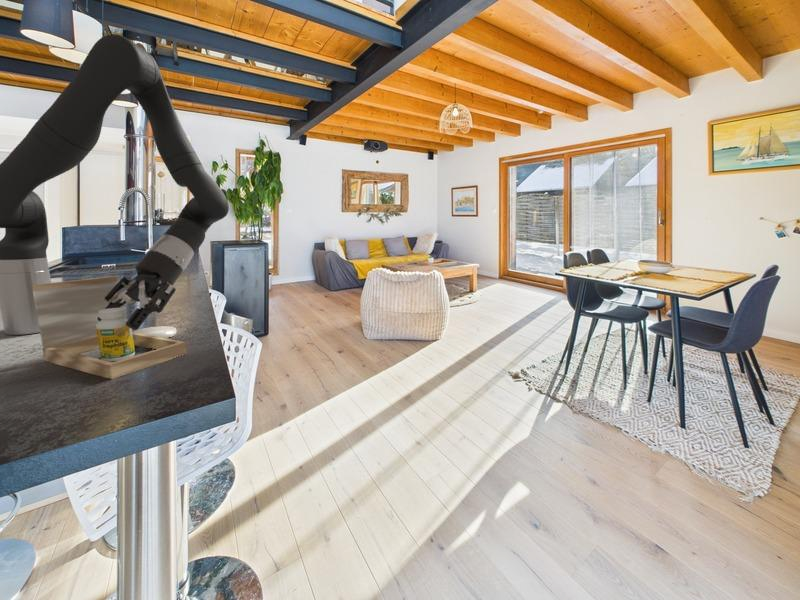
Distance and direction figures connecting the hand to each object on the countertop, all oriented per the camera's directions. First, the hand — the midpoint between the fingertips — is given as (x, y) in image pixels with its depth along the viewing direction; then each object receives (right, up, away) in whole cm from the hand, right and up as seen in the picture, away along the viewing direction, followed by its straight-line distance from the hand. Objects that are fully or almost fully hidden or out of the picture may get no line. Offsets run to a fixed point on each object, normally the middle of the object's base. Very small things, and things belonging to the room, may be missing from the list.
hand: (116, 325), depth 72 cm
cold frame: (0, -6, +1) cm, 6 cm away
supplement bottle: (0, -7, +1) cm, 7 cm away
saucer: (-2, -4, +14) cm, 15 cm away
